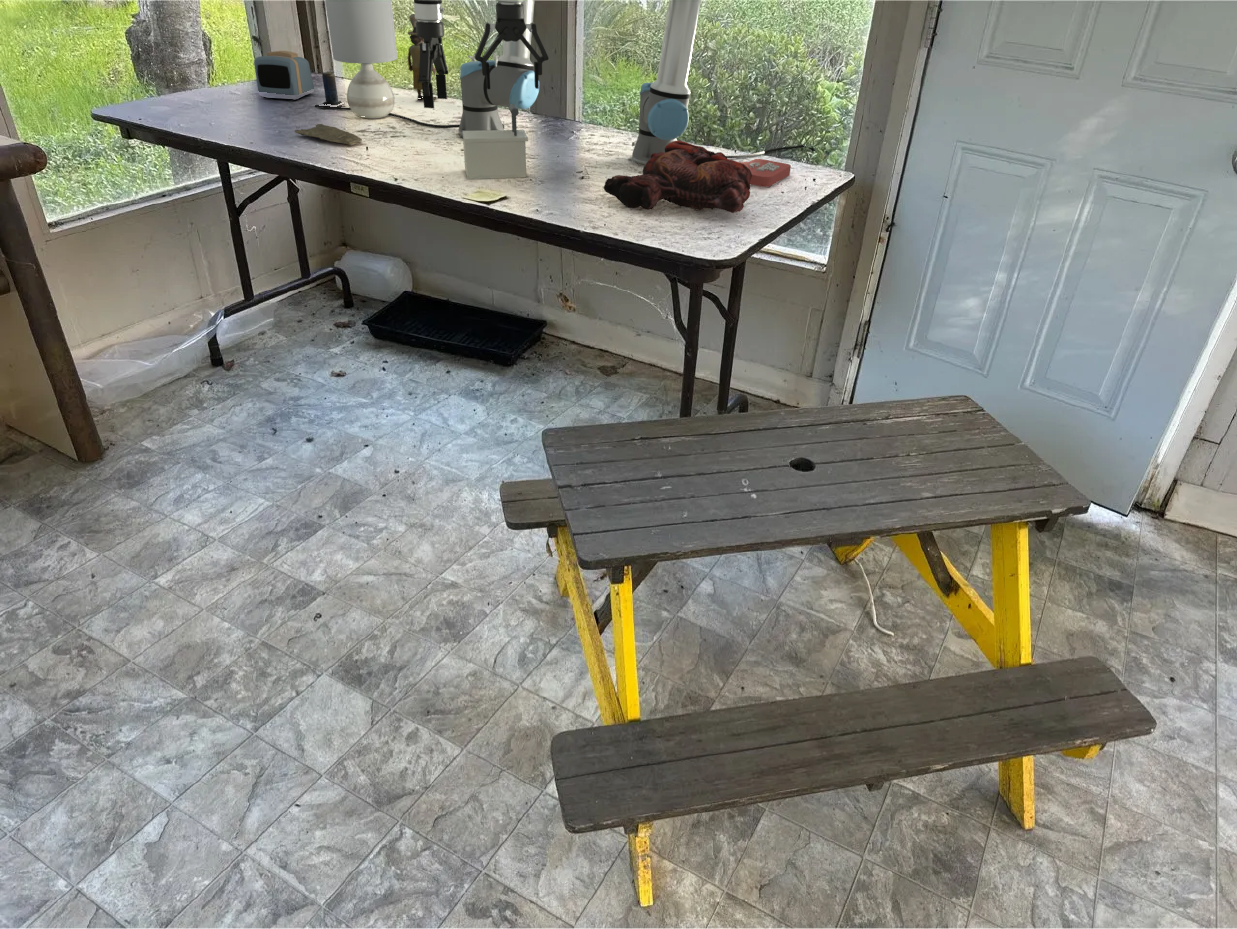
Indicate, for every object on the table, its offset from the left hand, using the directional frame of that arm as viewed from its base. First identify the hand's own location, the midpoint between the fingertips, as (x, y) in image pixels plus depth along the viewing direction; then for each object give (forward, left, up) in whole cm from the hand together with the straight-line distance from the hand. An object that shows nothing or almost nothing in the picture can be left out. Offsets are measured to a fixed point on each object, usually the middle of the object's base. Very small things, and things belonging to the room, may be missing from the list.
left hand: (435, 103), depth 245 cm
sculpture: (+72, -23, -18) cm, 78 cm away
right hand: (+23, -1, +5) cm, 24 cm away
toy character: (-5, +79, -18) cm, 81 cm away
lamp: (-42, +59, -18) cm, 75 cm away
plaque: (+95, +9, -18) cm, 97 cm away
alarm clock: (-85, +84, -18) cm, 121 cm away
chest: (+17, -3, -18) cm, 25 cm away
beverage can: (-62, +70, -18) cm, 96 cm away
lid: (+18, -3, -8) cm, 20 cm away
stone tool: (-44, +24, -18) cm, 53 cm away
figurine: (-33, +91, -18) cm, 99 cm away
